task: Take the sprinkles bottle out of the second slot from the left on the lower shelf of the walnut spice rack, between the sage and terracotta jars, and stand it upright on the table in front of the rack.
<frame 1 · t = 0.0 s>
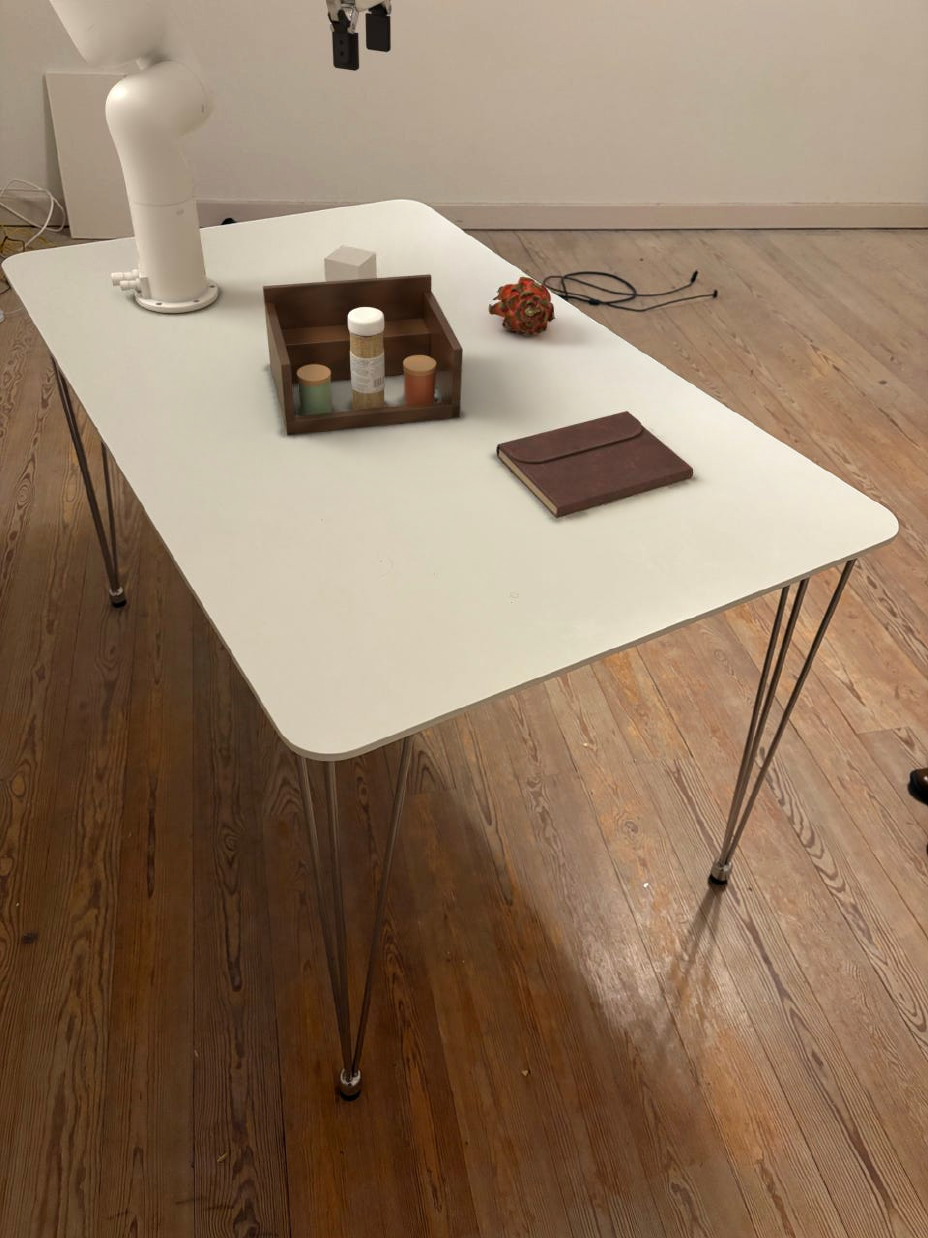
hand: (362, 59, 126), 37 cm above the table, tool pointing down, fingers open, 9 cm apart
sprinkles bottle: (368, 409, 136), resting in spice rack
light grey cube: (351, 293, 162), on the table
terracotta jar: (419, 402, 138), resting in spice rack
dragon fruit: (519, 330, 155), on the table
spice rack: (362, 391, 139), on the table
sage jar: (316, 412, 135), resting in spice rack
notebook: (592, 468, 128), on the table
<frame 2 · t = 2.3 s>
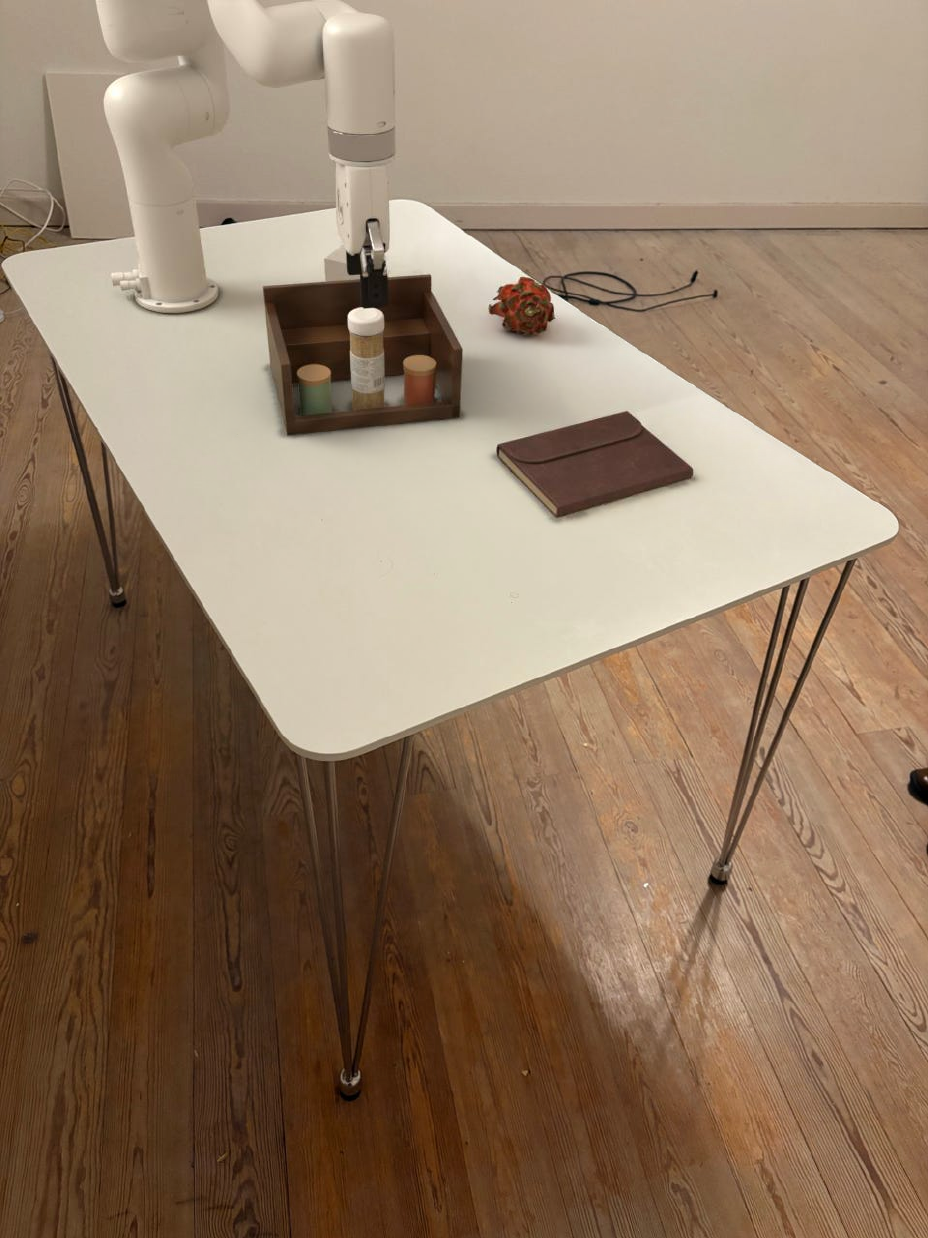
hand: (367, 289, 125), 17 cm above the table, tool pointing down, fingers open, 9 cm apart
nothing on the table moved.
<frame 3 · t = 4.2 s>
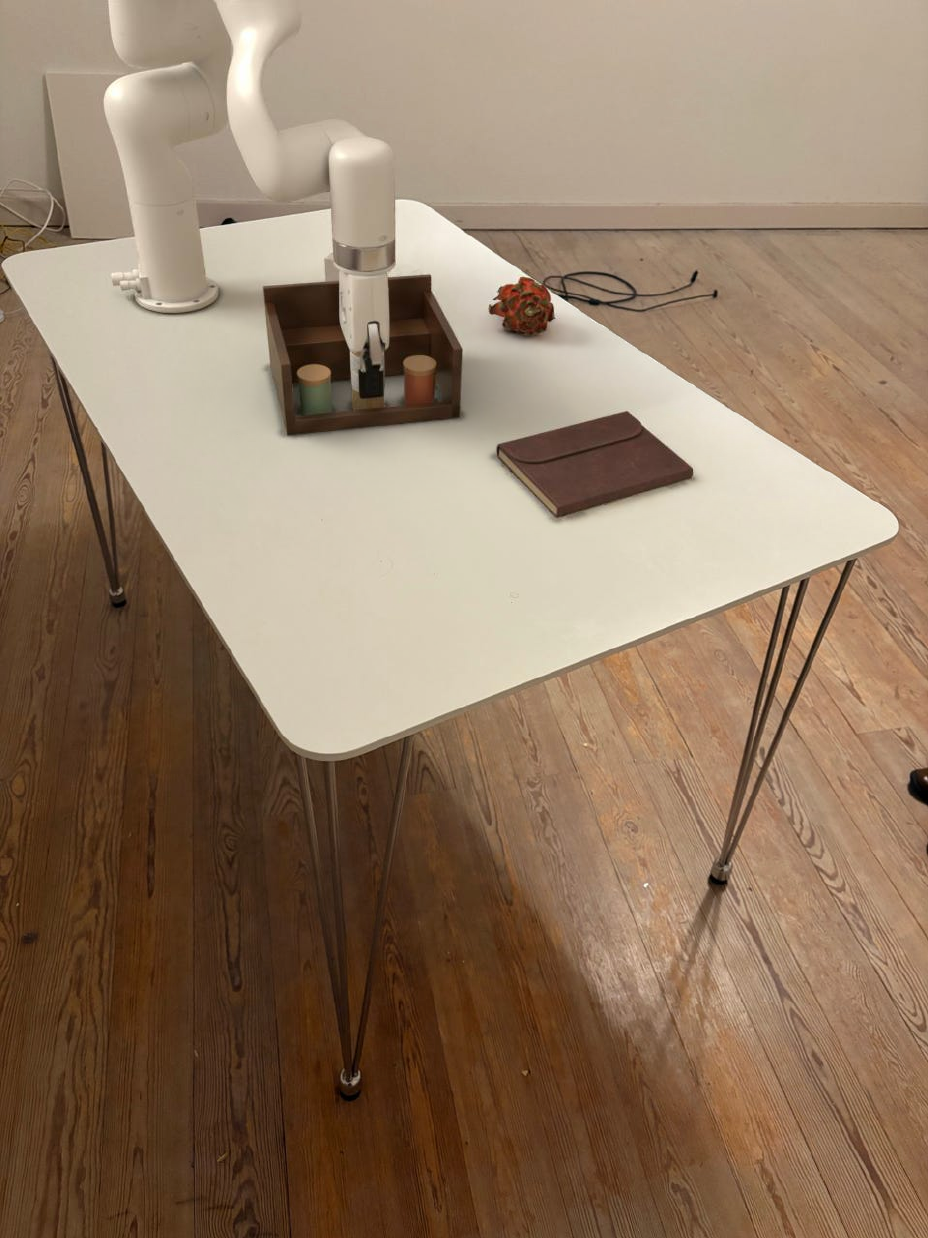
hand: (367, 385, 134), 3 cm above the table, tool pointing down, fingers closed on sprinkles bottle, 4 cm apart
sprinkles bottle: (368, 409, 136), resting in spice rack, touching gripper
everything else where it was.
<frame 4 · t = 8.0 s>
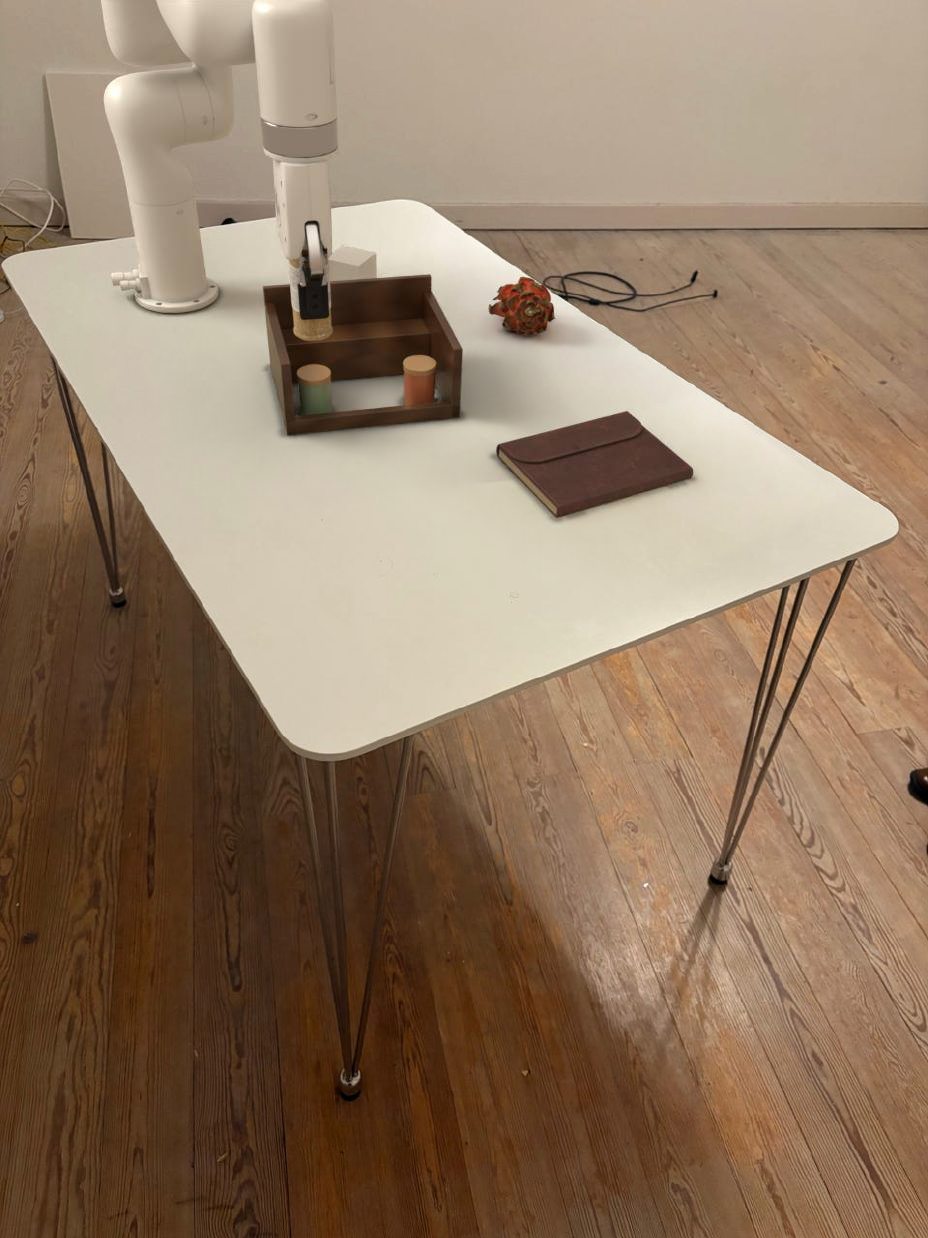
hand: (311, 306, 114), 20 cm above the table, tool pointing down, fingers closed on sprinkles bottle, 4 cm apart
sprinkles bottle: (313, 335, 116), point 16 cm above the table, touching gripper
everything else where it was.
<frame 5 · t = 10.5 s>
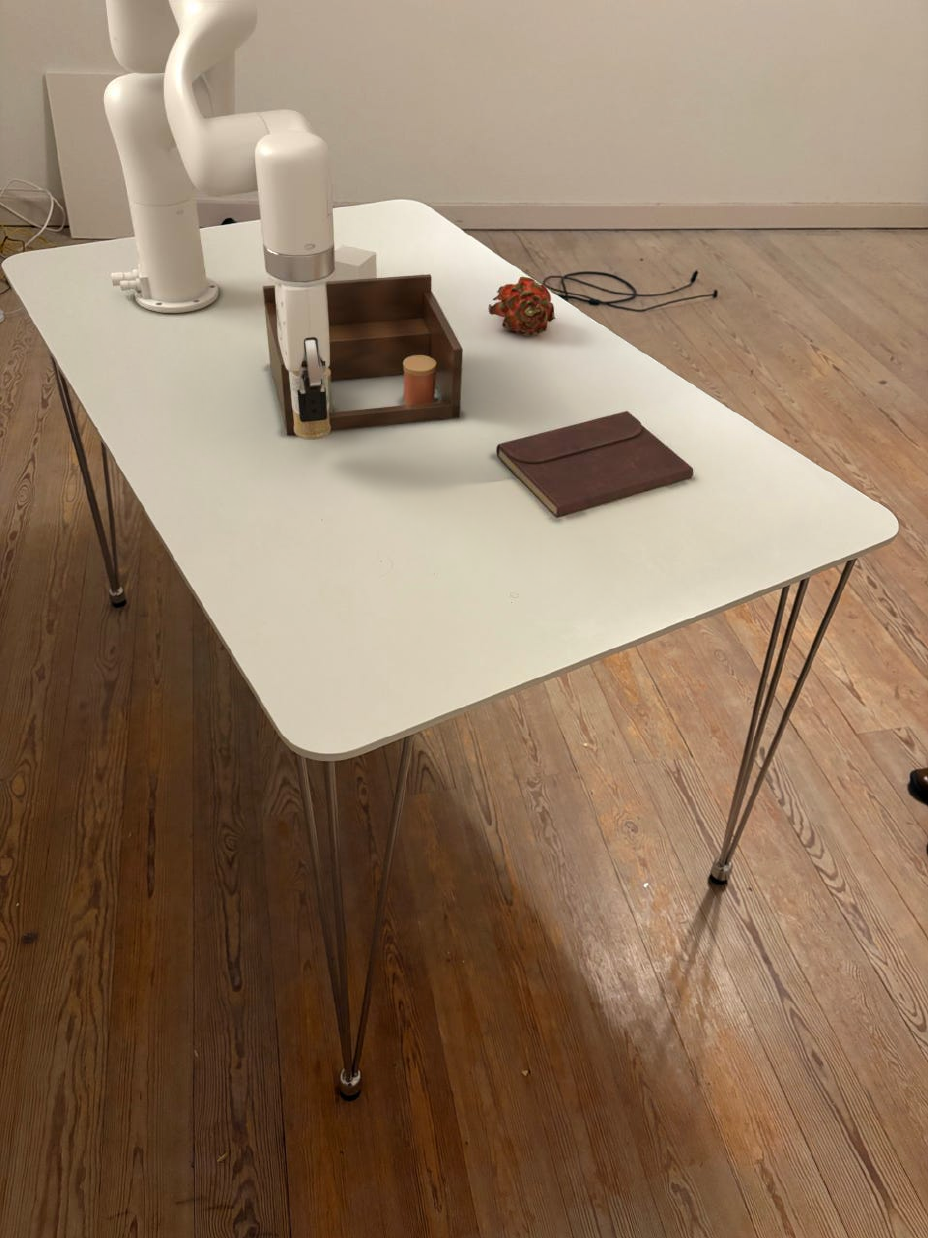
hand: (310, 407, 121), 8 cm above the table, tool pointing down, fingers closed on sprinkles bottle, 4 cm apart
sprinkles bottle: (312, 432, 123), point 4 cm above the table, touching gripper
everything else where it was.
when the fingers open (3 cm above the table, at t = 11.9 s): sprinkles bottle stays where it is, on the table.
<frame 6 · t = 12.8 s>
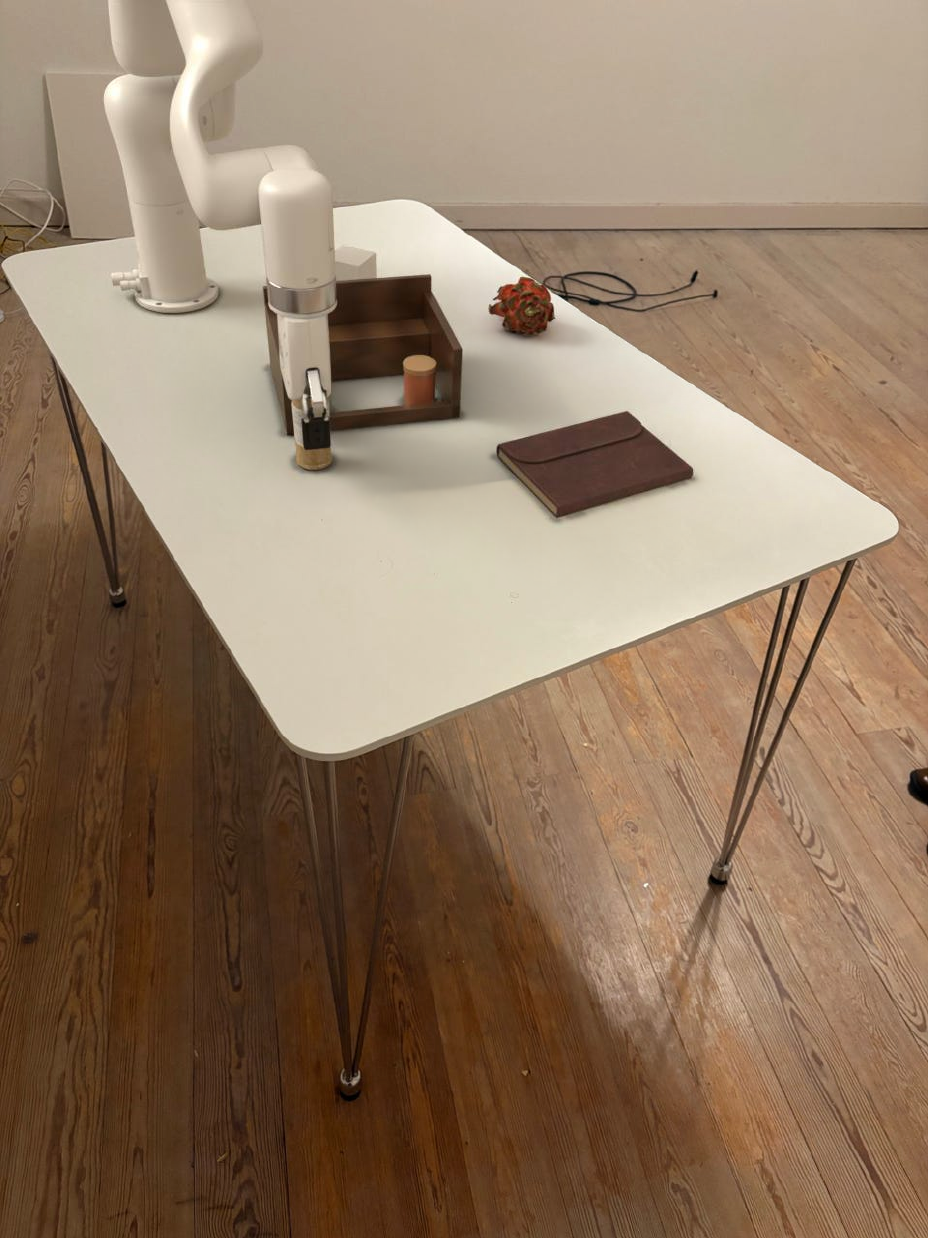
hand: (311, 425, 123), 5 cm above the table, tool pointing down, fingers open, 9 cm apart
sprinkles bottle: (314, 462, 126), on the table
everything else where it was.
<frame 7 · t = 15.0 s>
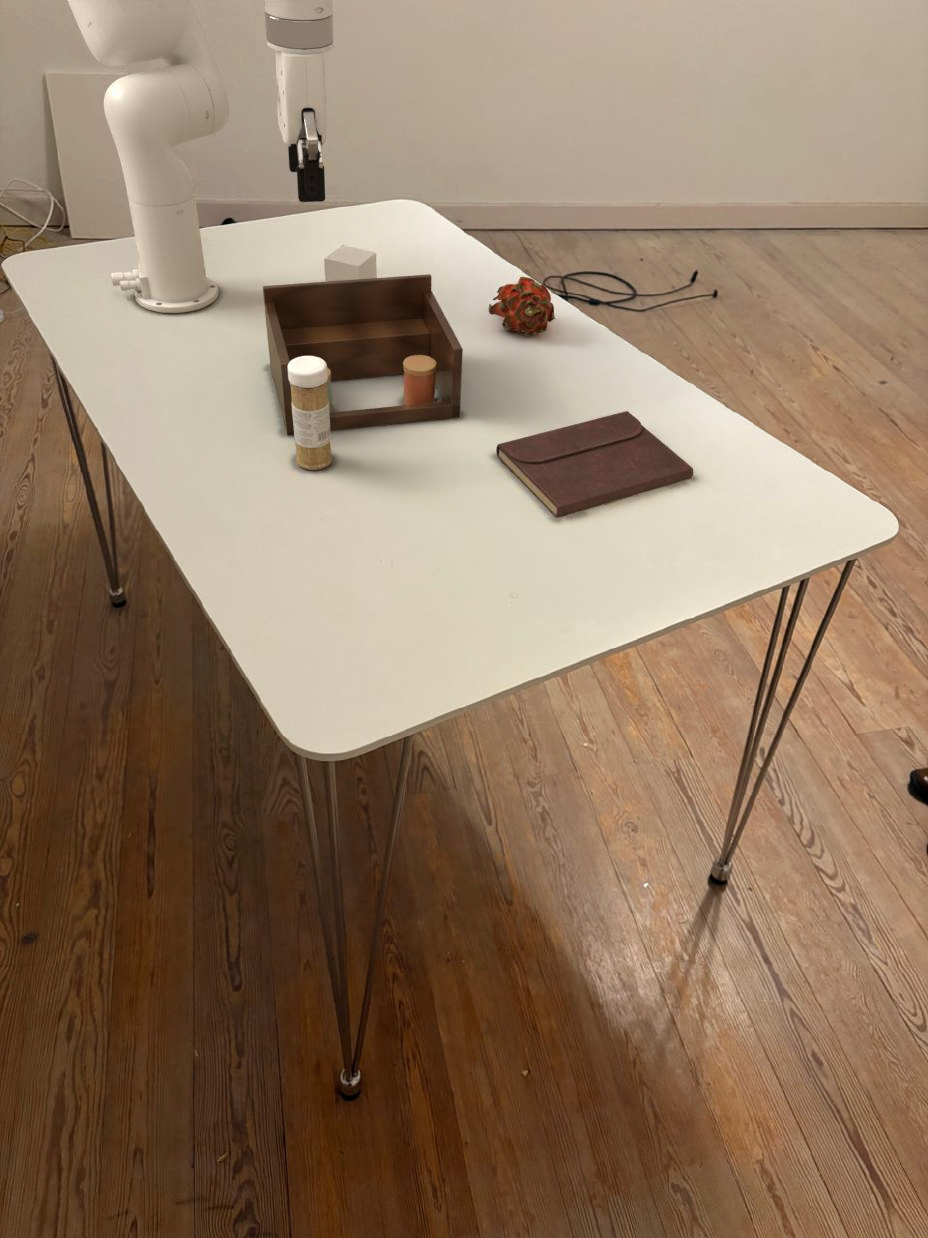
hand: (306, 185, 126), 25 cm above the table, tool pointing down, fingers open, 9 cm apart
nothing on the table moved.
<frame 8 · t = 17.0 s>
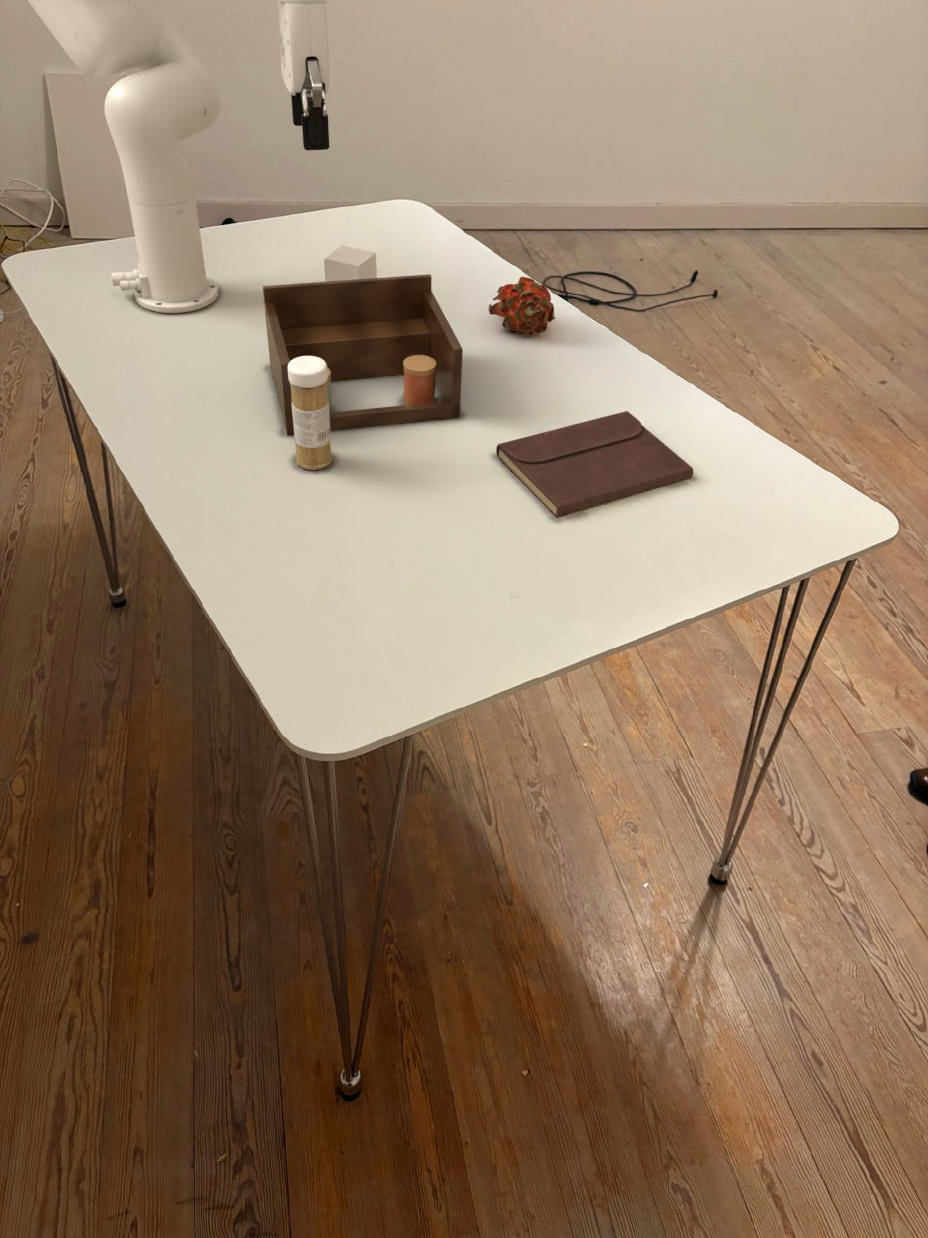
hand: (310, 136, 131), 28 cm above the table, tool pointing down, fingers open, 9 cm apart
nothing on the table moved.
at the end: sprinkles bottle inside the target area (0.1 cm from its centre), on the table; sprinkles bottle tilted 0°; the gripper is holding nothing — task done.
